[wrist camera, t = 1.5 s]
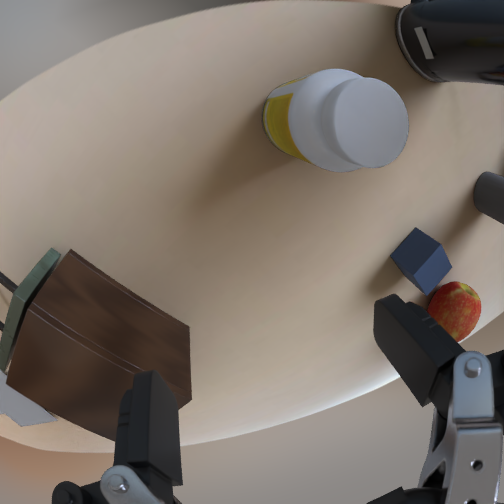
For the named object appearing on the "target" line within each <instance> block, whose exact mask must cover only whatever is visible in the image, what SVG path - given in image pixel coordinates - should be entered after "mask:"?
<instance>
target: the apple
mask: <svg viewBox="0 0 504 504" xmlns="http://www.w3.org/2000/svg"><path fill="white" fill-rule="evenodd" d="M427 312H428V313H429V314H430V315H431V318H432V317H433V318H434V319H435V320H436V321H437V322H438V325H439V324H440V325H441V326H442V327H443V328H444V329H445V330H446V331H447V332H448V333H449V334H450V335H451V336H452V337H453V338H454V339H455V341H456V342H459V341H461V340H462V339H464V338H465V337H466V336H468V335H469V334H470V333H471V331H472V330H473V329H474V327H475V326H476V324H477V322H478V320H479V317H480V313H481V301H480V298H479V296H478V295H477V293H476V292H475V291H474V290H473V289H472V288H471V287H469V286H468V285H466V284H463V283H460V282H456V281H454V282H450V283H447V284H445V285H443V286H442V287H441V288H440V289H439V290H438V291H437V292H436V293H435V295H434V296H433V298H432V300H431V302H430V304H429V307H428V310H427Z"/></svg>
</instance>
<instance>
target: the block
mask: <svg viewBox="0 0 504 504" xmlns="http://www.w3.org/2000/svg"><path fill="white" fill-rule="evenodd" d="M390 256H391V258H392V259H393V260H394V262H395V263H396V264H397V266H398V267H399V268H400V270H401V271H402V273H403V274H404V275H405V277H407V278H408V279H409V280H410V281H411V282H412V283H413V284H414V285H415V286H416V287H417V288H418V289H420V290H421V291H422V292H423V293H424V294H425V295H426V296H427V295H428V294H429V293H430V292H431V291H432V290H433V289H434V288H435V286H436V285H437V284H438V283H439V282H440V281H441V280H442V279H443V277H444V276H445V275H446V274H447V273H448V272H449V270H450V269H451V268H452V266H451V264H450V262H449V259H448V257H447V255H446V253H445V251H444V249H443V247H442V245H441V244H440V243H439V242H437V241H436V240H434V239H433V238H431V237H430V236H428V235H427V234H425V233H424V232H422V231H421V230H419V229H417V228H415V229H414V230H413V231H412V232H411V233H410V235H409V236H408V237H407V238H406V239H405V240H404V241H403V242H402V243H401V245H400V246H399V247H398V248H397V249H396V250H395V251H394V252H393V253H392V254H391V255H390Z"/></svg>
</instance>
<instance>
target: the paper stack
mask: <svg viewBox="0 0 504 504" xmlns="http://www.w3.org/2000/svg"><path fill="white" fill-rule="evenodd" d="M6 379H7V376H6V375H5V374H4V373H3V372H2V371H1V370H0V414H4V413H5V414H6V415H7V416H8V417H10V418H11V419H12V420H13V421H15V422H16V423H17V424H18V425H20V426H28V425H35V424H41V423H47V422H52V421H58V420H57V419H56V418H54V417H53V416H52V415H51V414H49V413H48V412H47V411H46V410H44V409H43V408H42V407H41V406H39V405H38V404H36V403H35V402H33V401H31V400H30V399H28V398H26V397H25V396H23V395H22V394H20V393H18V392H17V391H15V390H14V389H12V388H11V387H9V386H8V385H6Z"/></svg>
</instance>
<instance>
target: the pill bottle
mask: <svg viewBox="0 0 504 504" xmlns="http://www.w3.org/2000/svg"><path fill="white" fill-rule="evenodd" d="M262 125H263V129H264V132H265V134H266V136H267V137H268V139H269V140H270V142H271V143H272V144H273V145H274V146H275V147H277V148H278V149H279V150H281V151H283V152H285V153H287V154H289V155H292V156H294V157H297V158H299V159H301V160H304V161H306V162H308V163H311V164H313V165H315V166H318V167H320V168H323V169H325V170H328V171H333V172H350V171H354V170H357V169H360V168H362V167H366V168H379V167H383V166H385V165H387V164H389V163H391V162H392V161H394V160H395V159H396V158H397V157H398V156H399V154H400V153H401V152H402V150H403V148H404V146H405V144H406V141H407V137H408V132H409V120H408V114H407V110H406V107H405V105H404V103H403V101H402V99H401V97H400V96H399V94H398V93H397V92H396V91H395V90H394V89H393V88H392V87H391V86H390V85H388V84H387V83H385V82H383V81H381V80H378V79H375V78H364V77H362V76H360V75H359V74H357V73H354V72H352V71H348V70H344V69H327V70H322V71H318V72H315V73H312V74H309V75H307V76H304V77H301V78H299V79H296V80H293V81H290V82H287V83H285V84H282V85H280V86H279V87H277V88H276V89H275V90H273V91H272V92H271V93H270V95H269V96H268V97H267V99H266V101H265V103H264V106H263V109H262Z"/></svg>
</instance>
